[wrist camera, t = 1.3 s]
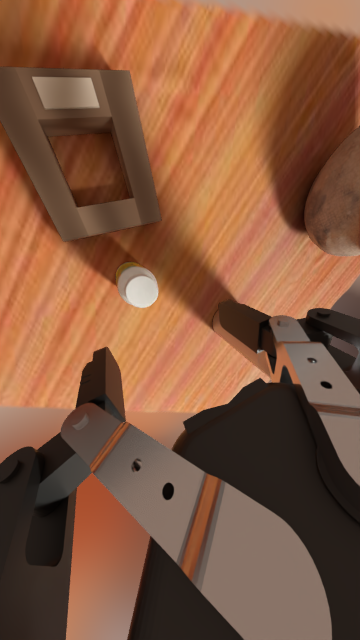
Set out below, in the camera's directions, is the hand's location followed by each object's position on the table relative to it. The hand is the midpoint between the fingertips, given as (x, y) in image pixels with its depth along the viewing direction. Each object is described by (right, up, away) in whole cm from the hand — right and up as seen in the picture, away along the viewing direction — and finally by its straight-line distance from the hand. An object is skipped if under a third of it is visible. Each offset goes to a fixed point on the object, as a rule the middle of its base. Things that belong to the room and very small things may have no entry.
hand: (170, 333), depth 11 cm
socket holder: (-10, +20, +9) cm, 24 cm away
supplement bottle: (-8, +8, +16) cm, 20 cm away
